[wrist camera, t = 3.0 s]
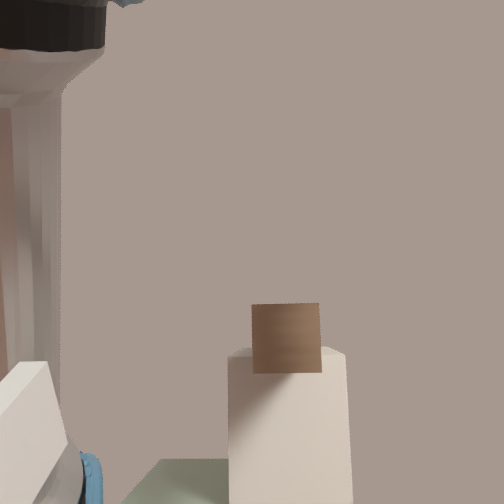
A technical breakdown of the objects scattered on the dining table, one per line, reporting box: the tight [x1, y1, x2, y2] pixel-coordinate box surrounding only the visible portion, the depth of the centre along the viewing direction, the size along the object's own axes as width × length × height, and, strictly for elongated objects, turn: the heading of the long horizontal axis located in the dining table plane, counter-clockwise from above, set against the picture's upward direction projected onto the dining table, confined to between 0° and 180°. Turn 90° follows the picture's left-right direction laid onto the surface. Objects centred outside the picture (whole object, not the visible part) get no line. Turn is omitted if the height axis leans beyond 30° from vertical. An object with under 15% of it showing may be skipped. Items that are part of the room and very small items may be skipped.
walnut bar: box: [252, 303, 322, 374], centre depth 32 cm, size 3×26×3 cm, turn 176°
